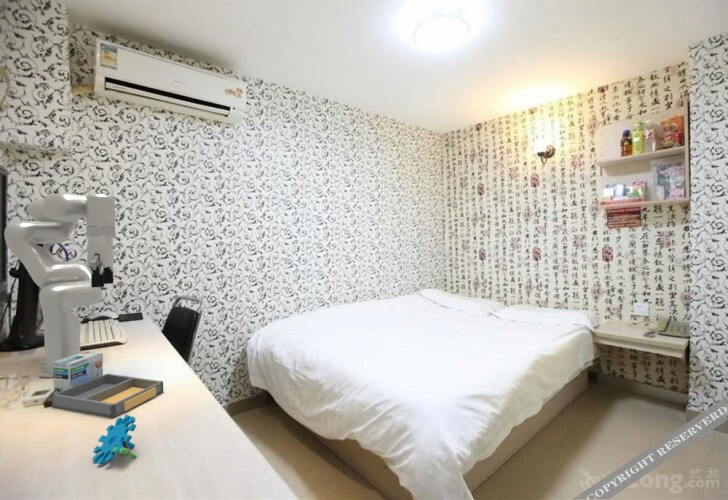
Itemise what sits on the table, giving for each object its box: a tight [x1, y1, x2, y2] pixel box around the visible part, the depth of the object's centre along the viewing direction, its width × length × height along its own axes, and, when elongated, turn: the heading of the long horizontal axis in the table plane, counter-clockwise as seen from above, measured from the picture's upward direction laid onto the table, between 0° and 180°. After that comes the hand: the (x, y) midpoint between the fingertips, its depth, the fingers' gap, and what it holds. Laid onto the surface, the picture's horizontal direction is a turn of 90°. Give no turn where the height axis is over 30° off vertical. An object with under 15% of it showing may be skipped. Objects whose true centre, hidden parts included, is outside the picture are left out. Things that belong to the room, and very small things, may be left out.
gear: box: [92, 414, 138, 466], centre depth 77 cm, size 11×6×10 cm
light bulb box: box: [52, 350, 104, 394], centre depth 108 cm, size 11×7×11 cm, turn 168°
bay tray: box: [51, 373, 164, 419], centre depth 102 cm, size 23×16×4 cm
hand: (102, 285), depth 113 cm, fingers open, 9 cm apart
